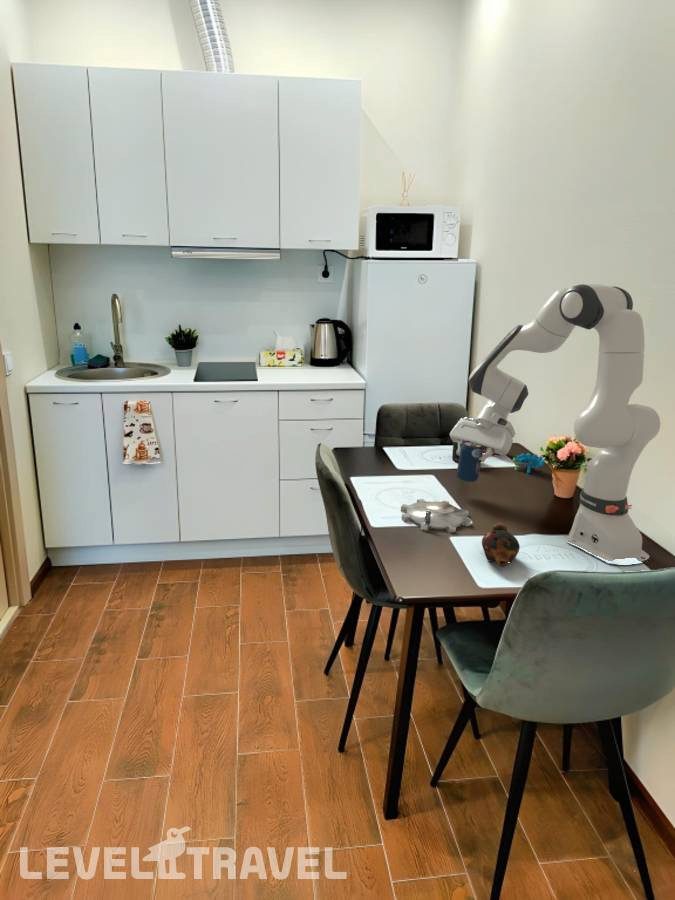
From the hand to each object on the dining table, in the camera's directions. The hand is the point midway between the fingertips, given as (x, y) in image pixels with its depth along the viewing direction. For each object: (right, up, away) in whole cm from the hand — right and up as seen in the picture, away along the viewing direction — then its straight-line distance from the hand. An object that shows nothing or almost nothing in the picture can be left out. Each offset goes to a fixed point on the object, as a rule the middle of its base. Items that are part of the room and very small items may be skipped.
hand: (469, 457), depth 214 cm
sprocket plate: (-13, -17, -14) cm, 26 cm away
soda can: (0, -7, +3) cm, 8 cm away
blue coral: (+27, -5, +32) cm, 42 cm away
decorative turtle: (0, -26, -37) cm, 45 cm away
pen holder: (+5, -2, +38) cm, 39 cm away
